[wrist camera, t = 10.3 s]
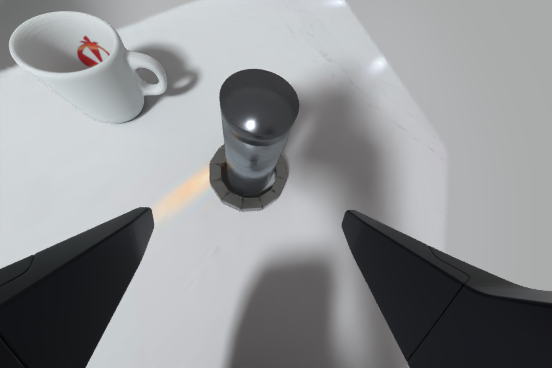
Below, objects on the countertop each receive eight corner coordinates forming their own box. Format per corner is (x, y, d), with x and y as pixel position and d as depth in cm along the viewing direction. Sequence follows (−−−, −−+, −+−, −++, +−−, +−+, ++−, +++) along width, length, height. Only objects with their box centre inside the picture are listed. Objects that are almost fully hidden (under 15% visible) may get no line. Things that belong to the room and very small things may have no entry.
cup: (177, 82, 27) (155, 17, 20) (177, 131, 25) (152, 78, 17) (84, 79, 25) (19, 5, 17) (74, 134, 22) (-6, 74, 15)
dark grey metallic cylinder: (276, 181, 25) (314, 111, 13) (243, 203, 23) (251, 147, 11) (253, 151, 26) (268, 59, 14) (219, 170, 24) (203, 85, 12)
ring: (288, 208, 24) (291, 205, 23) (211, 213, 22) (209, 211, 21) (279, 143, 27) (281, 138, 25) (210, 144, 25) (209, 137, 24)
